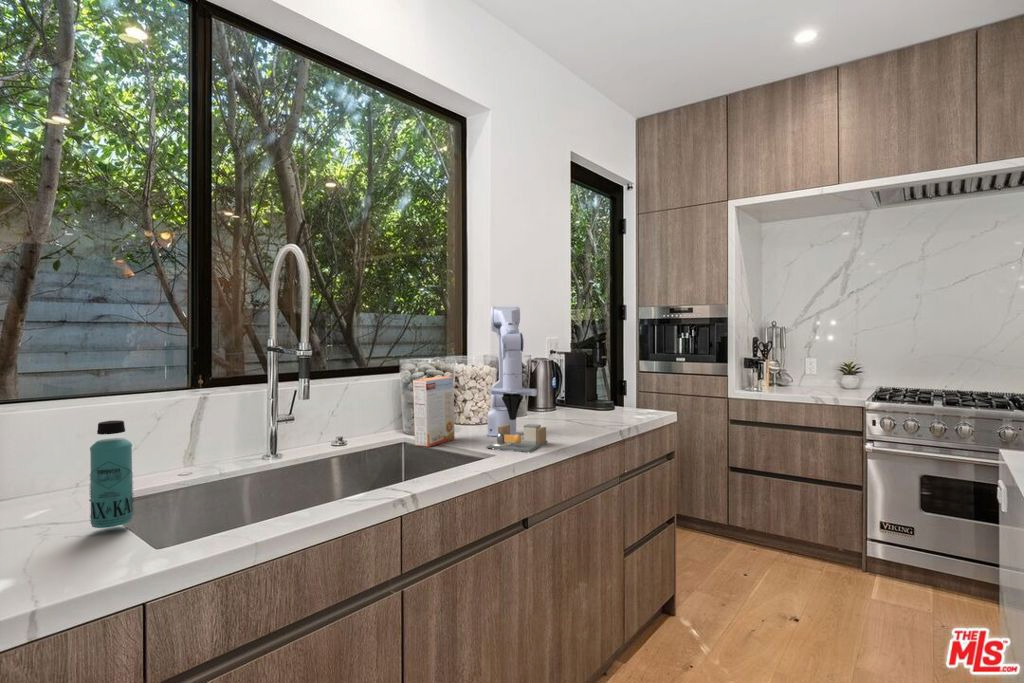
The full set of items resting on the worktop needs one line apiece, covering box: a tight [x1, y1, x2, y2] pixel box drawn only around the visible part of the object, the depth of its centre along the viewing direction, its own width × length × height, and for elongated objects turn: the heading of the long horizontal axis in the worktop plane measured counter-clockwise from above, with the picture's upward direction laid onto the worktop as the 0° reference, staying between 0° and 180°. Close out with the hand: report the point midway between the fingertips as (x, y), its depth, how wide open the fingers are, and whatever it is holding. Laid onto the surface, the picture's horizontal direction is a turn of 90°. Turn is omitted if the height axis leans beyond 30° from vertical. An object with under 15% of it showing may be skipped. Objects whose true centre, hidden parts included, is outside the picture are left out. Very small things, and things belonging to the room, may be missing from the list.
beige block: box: [523, 423, 542, 441], centre depth 174 cm, size 4×4×5 cm
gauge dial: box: [490, 433, 511, 447], centre depth 171 cm, size 6×6×3 cm
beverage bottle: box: [88, 419, 135, 529], centre depth 101 cm, size 6×7×20 cm
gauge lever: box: [504, 434, 522, 444], centre depth 168 cm, size 6×2×2 cm, turn 53°
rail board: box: [486, 424, 548, 453], centre depth 172 cm, size 14×15×5 cm
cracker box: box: [412, 375, 455, 448], centre depth 179 cm, size 14×6×21 cm, turn 149°
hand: (512, 419), depth 165 cm, fingers closed
